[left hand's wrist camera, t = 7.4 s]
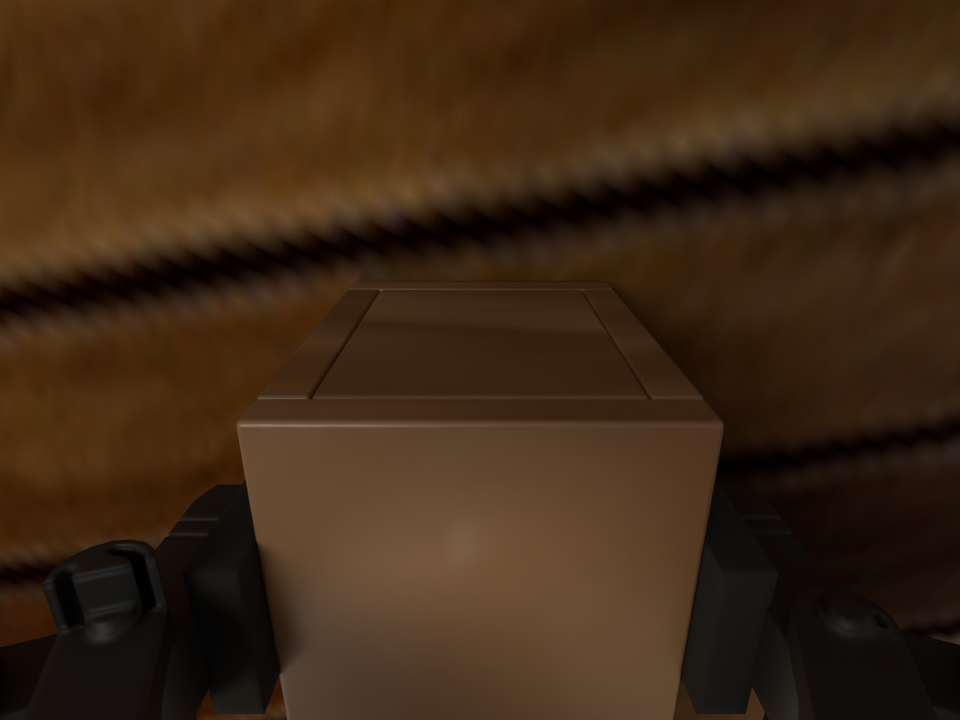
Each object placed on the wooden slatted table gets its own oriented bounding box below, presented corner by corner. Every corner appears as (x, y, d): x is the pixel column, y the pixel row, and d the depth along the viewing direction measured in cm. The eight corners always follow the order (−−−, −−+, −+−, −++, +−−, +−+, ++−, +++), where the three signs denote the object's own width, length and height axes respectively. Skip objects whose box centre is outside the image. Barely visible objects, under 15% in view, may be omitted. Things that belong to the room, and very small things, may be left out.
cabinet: (570, 724, 21) (618, 1041, 14) (390, 724, 21) (341, 1040, 14) (607, 281, 15) (728, 423, 8) (354, 281, 15) (232, 422, 8)
